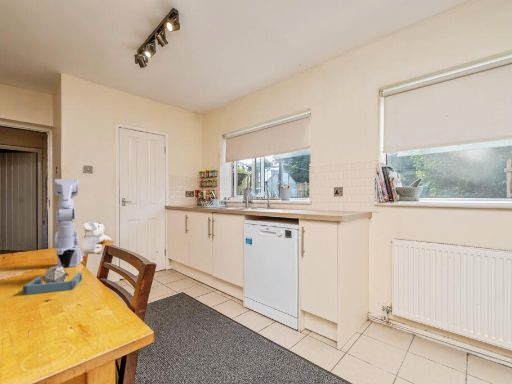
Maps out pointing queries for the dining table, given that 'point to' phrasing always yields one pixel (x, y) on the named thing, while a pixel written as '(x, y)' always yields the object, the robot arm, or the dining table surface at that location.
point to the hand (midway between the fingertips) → (65, 267)
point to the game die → (55, 274)
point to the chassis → (50, 285)
